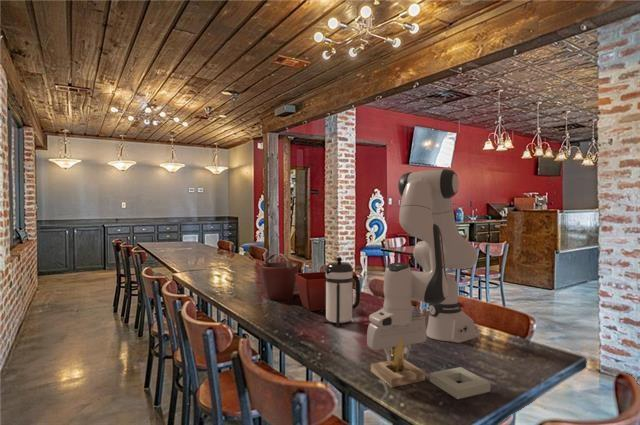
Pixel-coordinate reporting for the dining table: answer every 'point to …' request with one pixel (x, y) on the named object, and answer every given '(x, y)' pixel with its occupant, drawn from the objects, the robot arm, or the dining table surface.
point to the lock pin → (398, 357)
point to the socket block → (459, 390)
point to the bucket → (278, 278)
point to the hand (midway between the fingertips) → (397, 359)
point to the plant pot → (312, 289)
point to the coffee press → (340, 292)
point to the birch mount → (399, 378)
